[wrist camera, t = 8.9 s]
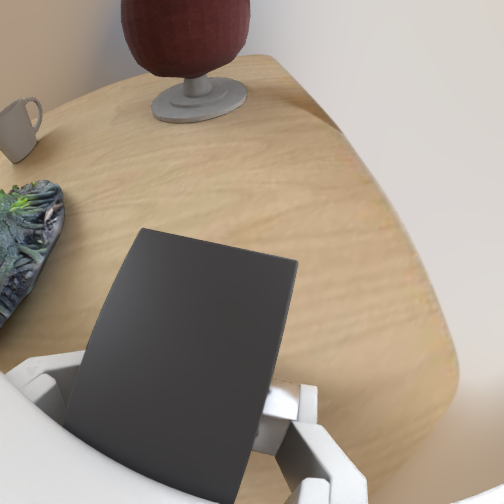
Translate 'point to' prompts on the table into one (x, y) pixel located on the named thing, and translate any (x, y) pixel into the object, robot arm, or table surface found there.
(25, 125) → the cup
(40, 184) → the tree stump
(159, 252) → the case
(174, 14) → the mate gourd
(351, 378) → the table surface
